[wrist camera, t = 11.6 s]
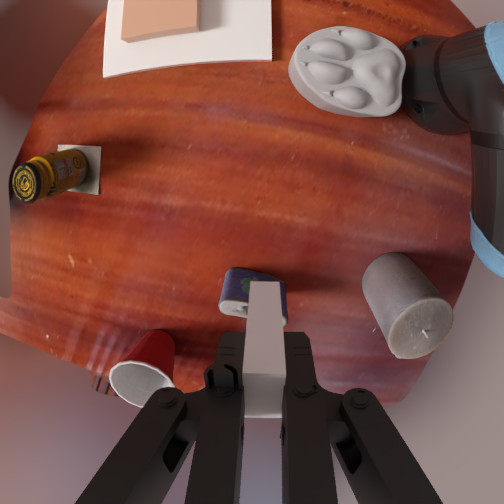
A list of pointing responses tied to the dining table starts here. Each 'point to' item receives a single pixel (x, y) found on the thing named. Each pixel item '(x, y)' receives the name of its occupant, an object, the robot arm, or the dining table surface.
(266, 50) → the board
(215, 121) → the dining table surface
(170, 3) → the tile
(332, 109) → the lumpy-topped squat cylinder
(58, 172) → the condiment
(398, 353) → the pillar candle
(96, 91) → the dining table surface
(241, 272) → the flask
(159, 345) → the plastic cup
